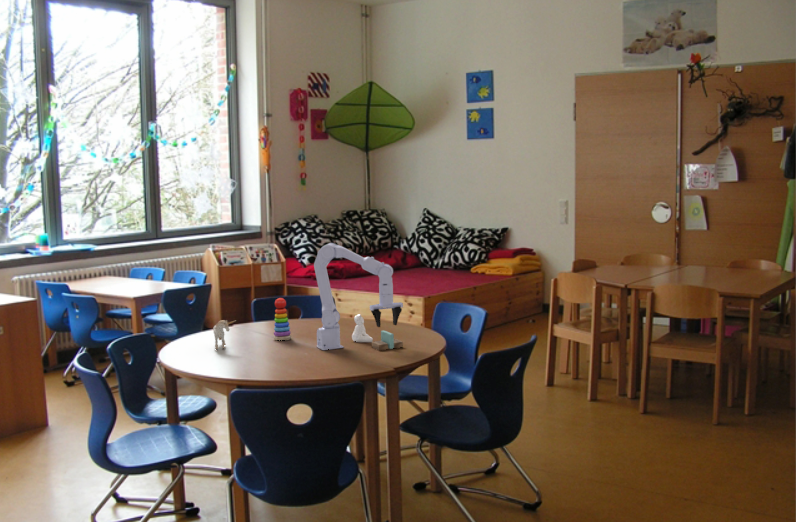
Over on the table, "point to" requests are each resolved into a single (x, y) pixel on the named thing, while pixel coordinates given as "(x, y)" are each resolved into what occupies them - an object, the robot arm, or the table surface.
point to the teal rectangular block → (388, 338)
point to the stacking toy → (281, 321)
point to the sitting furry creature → (360, 331)
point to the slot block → (383, 346)
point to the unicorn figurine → (220, 331)
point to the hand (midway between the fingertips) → (386, 325)
